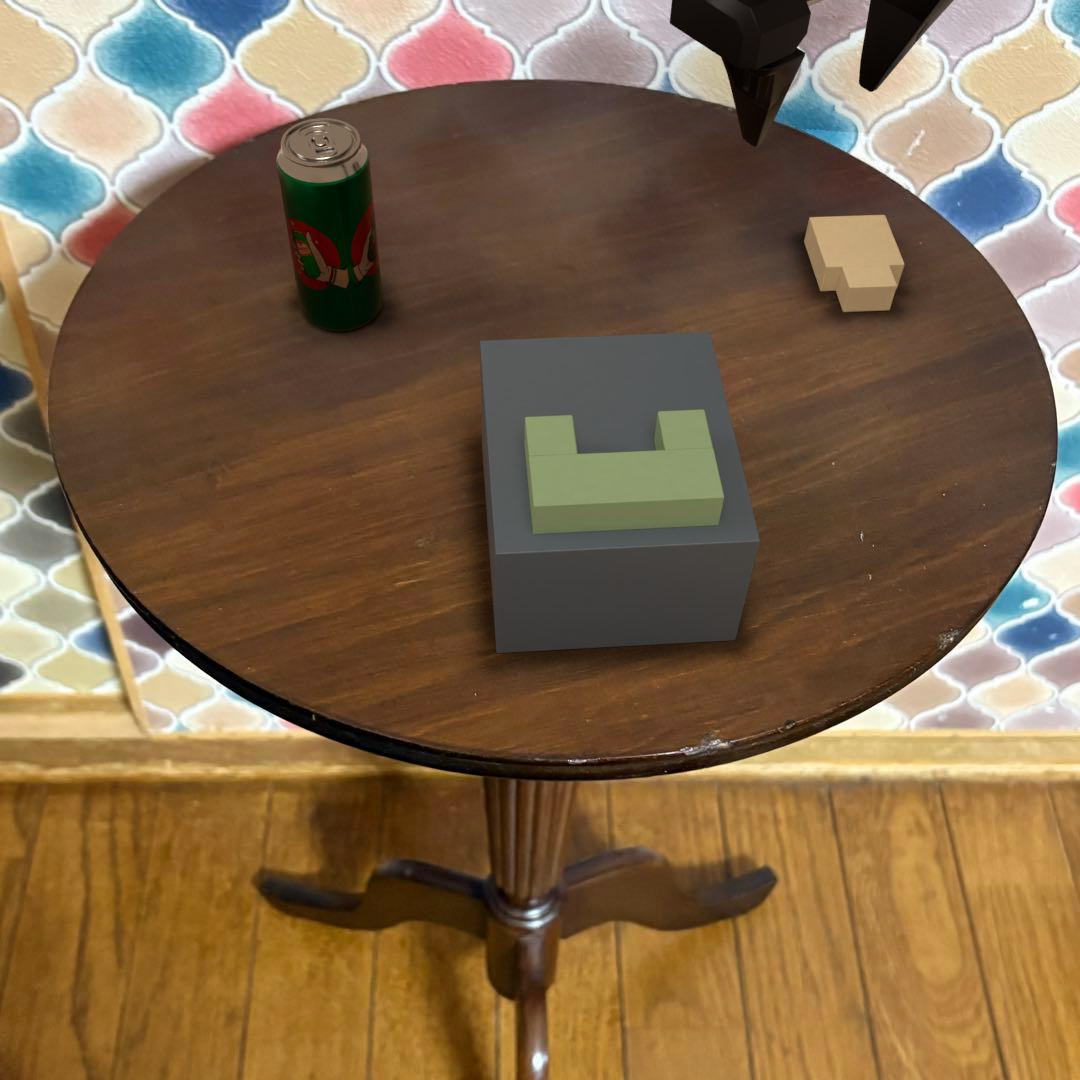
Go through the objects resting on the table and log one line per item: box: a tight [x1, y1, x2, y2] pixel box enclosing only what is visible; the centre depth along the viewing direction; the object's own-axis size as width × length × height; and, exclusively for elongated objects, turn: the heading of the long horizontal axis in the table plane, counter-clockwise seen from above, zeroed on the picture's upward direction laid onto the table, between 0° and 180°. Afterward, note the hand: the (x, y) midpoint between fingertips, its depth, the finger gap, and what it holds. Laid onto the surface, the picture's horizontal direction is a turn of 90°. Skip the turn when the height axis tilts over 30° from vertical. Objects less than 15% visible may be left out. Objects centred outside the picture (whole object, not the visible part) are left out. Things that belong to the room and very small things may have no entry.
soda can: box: [275, 117, 384, 333], centre depth 74 cm, size 5×5×12 cm
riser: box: [479, 331, 761, 654], centre depth 65 cm, size 12×14×8 cm
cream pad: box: [803, 214, 905, 313], centre depth 81 cm, size 5×7×2 cm
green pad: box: [524, 410, 724, 534], centre depth 59 cm, size 8×6×2 cm, turn 95°
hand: (810, 114), depth 72 cm, fingers open, 9 cm apart
